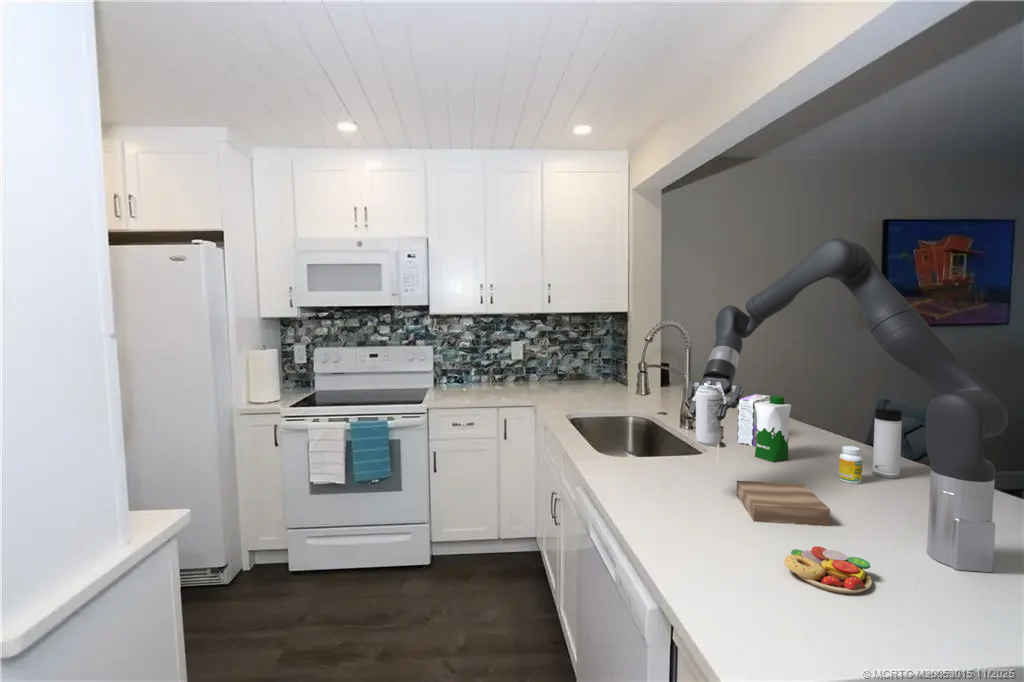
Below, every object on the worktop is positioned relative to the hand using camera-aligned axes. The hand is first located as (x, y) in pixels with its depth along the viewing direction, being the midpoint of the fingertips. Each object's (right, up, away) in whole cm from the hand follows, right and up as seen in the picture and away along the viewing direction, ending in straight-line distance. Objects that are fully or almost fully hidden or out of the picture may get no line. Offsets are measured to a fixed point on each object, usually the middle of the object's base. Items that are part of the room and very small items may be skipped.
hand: (705, 417), depth 127 cm
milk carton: (+35, -19, +35) cm, 53 cm away
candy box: (+39, -17, +54) cm, 69 cm away
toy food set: (+9, -25, -34) cm, 43 cm away
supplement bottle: (+46, -20, +13) cm, 52 cm away
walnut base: (+16, -22, -5) cm, 28 cm away
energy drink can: (+1, -7, +2) cm, 8 cm away
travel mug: (+59, -20, +17) cm, 65 cm away
